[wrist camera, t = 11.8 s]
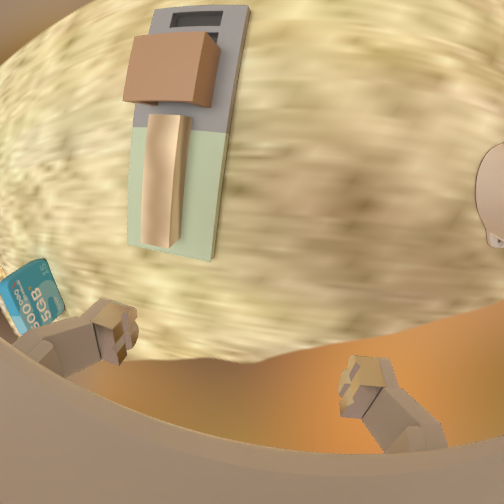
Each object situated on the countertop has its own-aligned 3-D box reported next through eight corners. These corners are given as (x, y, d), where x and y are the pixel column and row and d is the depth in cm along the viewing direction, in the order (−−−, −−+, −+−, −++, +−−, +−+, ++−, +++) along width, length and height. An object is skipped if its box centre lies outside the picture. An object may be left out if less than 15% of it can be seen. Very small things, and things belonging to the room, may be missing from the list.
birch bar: (192, 117, 32) (180, 115, 28) (180, 238, 38) (168, 248, 34) (163, 116, 32) (149, 114, 29) (154, 233, 38) (140, 242, 35)
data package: (66, 308, 50) (32, 340, 39) (55, 308, 51) (21, 338, 40) (45, 256, 46) (4, 282, 35) (34, 258, 47) (-5, 283, 36)
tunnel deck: (250, 11, 27) (238, -19, 19) (214, 256, 41) (195, 285, 33) (160, 14, 28) (131, -8, 20) (133, 240, 42) (102, 262, 34)
